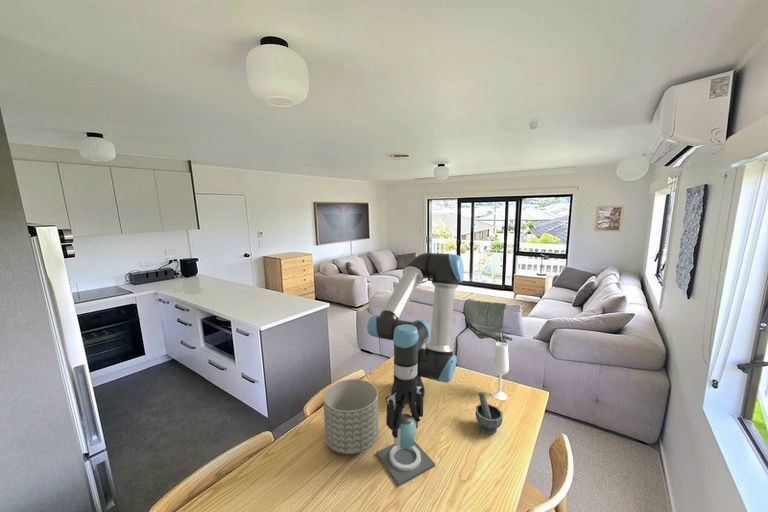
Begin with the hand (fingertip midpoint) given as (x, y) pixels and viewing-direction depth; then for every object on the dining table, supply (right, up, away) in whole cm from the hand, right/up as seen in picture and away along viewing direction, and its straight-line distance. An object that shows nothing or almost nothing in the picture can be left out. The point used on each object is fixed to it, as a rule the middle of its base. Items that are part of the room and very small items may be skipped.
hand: (405, 441), depth 96 cm
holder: (0, -7, +1) cm, 7 cm away
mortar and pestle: (+32, -5, +16) cm, 37 cm away
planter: (-18, -6, +10) cm, 22 cm away
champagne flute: (+45, -2, +36) cm, 57 cm away
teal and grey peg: (0, 0, 0) cm, 0 cm away
